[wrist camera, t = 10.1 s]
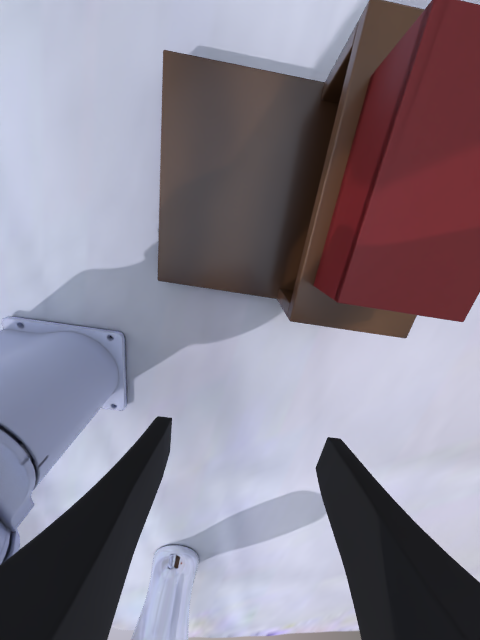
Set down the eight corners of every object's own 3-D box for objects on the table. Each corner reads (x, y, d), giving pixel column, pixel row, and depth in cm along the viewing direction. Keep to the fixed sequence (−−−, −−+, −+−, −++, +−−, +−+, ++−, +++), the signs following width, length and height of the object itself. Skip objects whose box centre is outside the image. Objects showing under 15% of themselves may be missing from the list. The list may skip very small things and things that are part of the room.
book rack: (164, 277, 17) (126, 297, 11) (171, 68, 13) (116, -63, 7) (354, 306, 18) (407, 339, 12) (420, 118, 13) (547, 35, 8)
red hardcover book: (312, 285, 11) (337, 303, 8) (370, 75, 8) (436, -7, 5) (408, 301, 11) (463, 322, 9) (495, 101, 9) (620, 35, 6)
